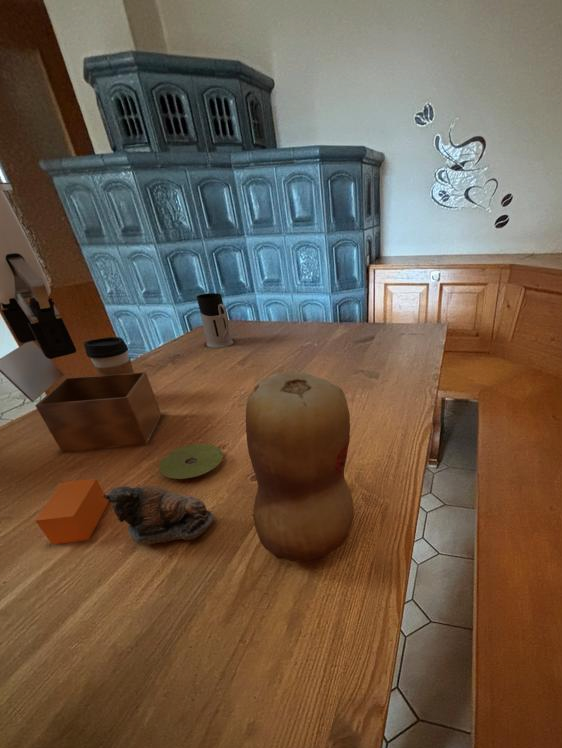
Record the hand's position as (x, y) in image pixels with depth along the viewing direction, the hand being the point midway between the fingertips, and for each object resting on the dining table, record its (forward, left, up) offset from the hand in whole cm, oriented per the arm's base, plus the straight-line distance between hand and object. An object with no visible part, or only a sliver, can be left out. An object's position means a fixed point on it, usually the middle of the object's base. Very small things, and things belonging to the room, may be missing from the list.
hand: (47, 347), depth 48 cm
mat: (+9, +9, -26) cm, 29 cm away
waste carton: (-10, +26, -26) cm, 38 cm away
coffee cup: (-12, +42, -26) cm, 50 cm away
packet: (-6, -3, -26) cm, 27 cm away
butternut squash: (+29, -14, -26) cm, 42 cm away
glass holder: (+7, +81, -26) cm, 85 cm away
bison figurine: (+9, -9, -26) cm, 29 cm away
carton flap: (-19, +26, -11) cm, 34 cm away
